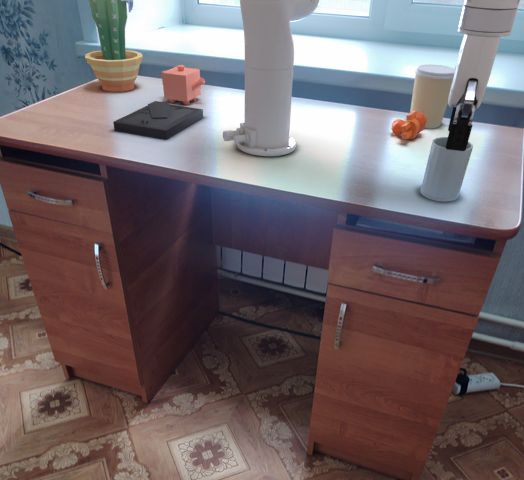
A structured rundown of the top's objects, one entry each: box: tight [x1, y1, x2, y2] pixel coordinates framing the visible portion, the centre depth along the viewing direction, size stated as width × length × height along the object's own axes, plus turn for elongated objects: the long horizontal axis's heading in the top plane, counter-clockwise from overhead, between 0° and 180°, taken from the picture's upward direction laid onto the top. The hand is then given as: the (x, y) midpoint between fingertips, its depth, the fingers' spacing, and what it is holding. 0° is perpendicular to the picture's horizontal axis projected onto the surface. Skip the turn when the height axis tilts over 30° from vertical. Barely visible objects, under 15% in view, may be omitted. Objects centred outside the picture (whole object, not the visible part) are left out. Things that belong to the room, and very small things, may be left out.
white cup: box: [420, 136, 474, 203], centre depth 89 cm, size 7×7×9 cm
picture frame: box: [112, 100, 204, 140], centre depth 117 cm, size 13×2×18 cm
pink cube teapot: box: [161, 64, 206, 105], centre depth 130 cm, size 8×12×8 cm, turn 69°
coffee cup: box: [409, 64, 455, 129], centre depth 120 cm, size 9×9×12 cm
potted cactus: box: [84, 0, 143, 93], centre depth 133 cm, size 15×15×25 cm
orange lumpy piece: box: [390, 110, 427, 140], centre depth 115 cm, size 5×8×12 cm
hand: (456, 140), depth 86 cm, fingers open, 9 cm apart
